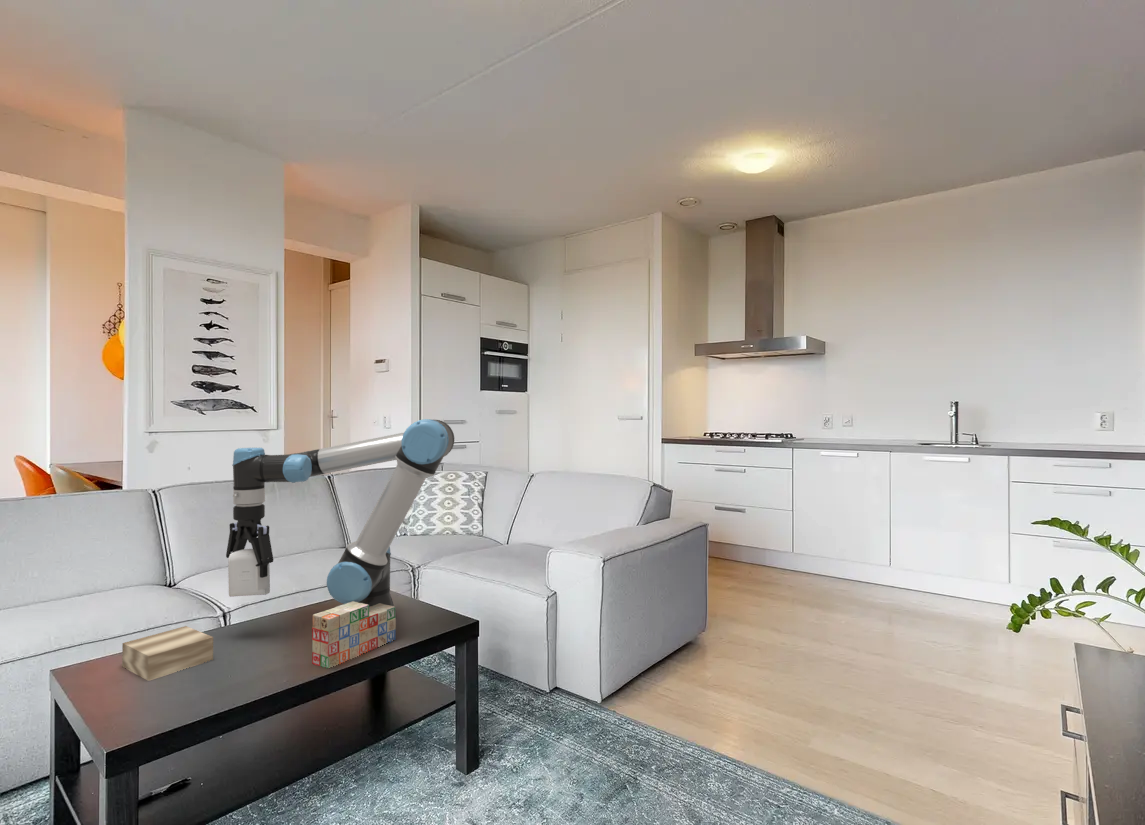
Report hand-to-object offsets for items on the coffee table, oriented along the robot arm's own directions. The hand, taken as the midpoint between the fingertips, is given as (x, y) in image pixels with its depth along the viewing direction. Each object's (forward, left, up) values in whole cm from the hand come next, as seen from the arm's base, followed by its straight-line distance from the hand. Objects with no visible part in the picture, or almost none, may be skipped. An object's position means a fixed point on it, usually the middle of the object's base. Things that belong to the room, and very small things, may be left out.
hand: (249, 586), depth 160 cm
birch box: (+2, +19, -15) cm, 24 cm away
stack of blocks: (-32, -8, -15) cm, 36 cm away
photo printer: (0, 0, -2) cm, 2 cm away
